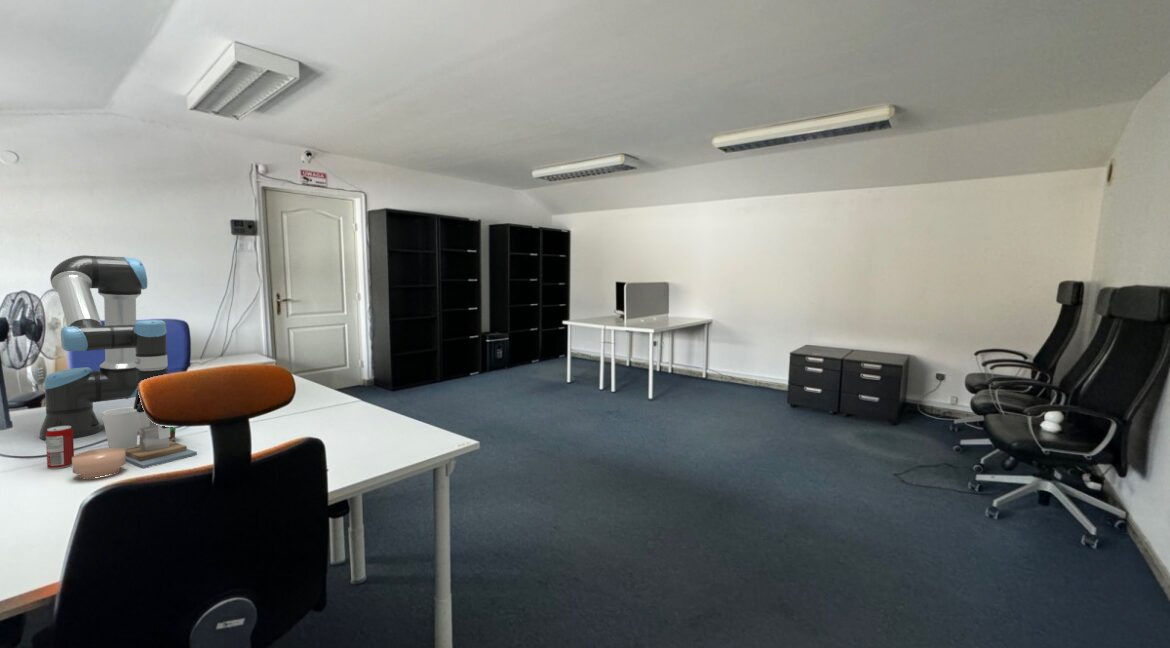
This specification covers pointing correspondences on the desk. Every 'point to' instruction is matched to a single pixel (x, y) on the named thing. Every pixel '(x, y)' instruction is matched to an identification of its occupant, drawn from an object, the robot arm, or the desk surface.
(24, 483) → the desk surface
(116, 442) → the foam cup
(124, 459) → the bowl
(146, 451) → the lid
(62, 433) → the soda can
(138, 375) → the robot arm
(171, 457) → the mat
